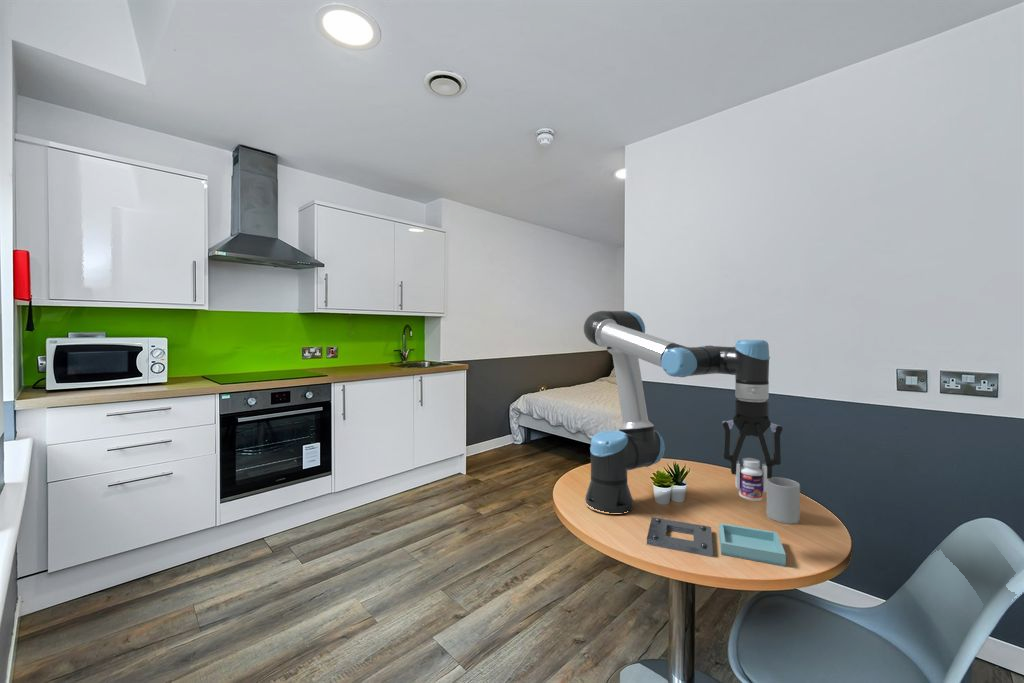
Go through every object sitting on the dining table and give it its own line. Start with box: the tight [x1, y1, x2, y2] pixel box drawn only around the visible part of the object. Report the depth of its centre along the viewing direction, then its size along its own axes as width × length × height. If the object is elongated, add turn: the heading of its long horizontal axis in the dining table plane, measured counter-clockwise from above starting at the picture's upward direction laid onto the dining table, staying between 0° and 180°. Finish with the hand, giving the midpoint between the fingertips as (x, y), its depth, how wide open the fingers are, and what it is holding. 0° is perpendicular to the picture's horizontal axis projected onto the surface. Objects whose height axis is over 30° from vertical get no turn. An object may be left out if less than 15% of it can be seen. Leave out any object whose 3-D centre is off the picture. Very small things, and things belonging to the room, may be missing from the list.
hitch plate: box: [646, 516, 714, 558], centre depth 117 cm, size 16×14×2 cm
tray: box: [718, 522, 787, 567], centre depth 111 cm, size 14×12×3 cm
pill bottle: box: [738, 457, 764, 502], centre depth 110 cm, size 5×5×10 cm
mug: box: [765, 476, 801, 525], centre depth 130 cm, size 12×8×11 cm
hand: (750, 488), depth 110 cm, fingers closed on pill bottle, 5 cm apart
